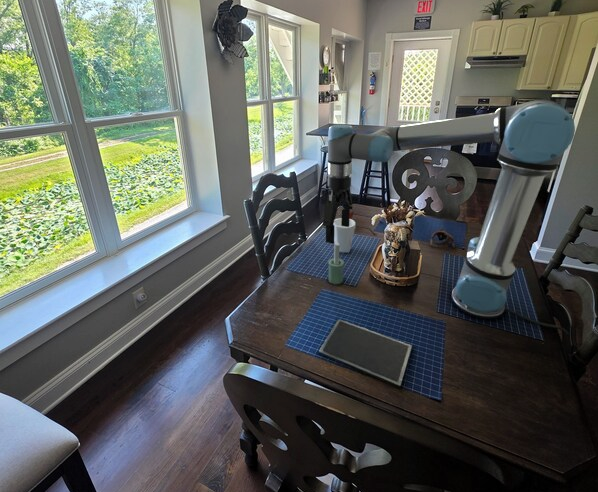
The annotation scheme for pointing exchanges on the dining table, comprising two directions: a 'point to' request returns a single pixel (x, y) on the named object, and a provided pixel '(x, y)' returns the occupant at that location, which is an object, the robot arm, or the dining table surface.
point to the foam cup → (344, 234)
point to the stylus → (336, 254)
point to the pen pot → (336, 272)
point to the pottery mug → (441, 237)
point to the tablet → (367, 352)
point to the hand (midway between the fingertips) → (338, 233)
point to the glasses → (361, 215)
